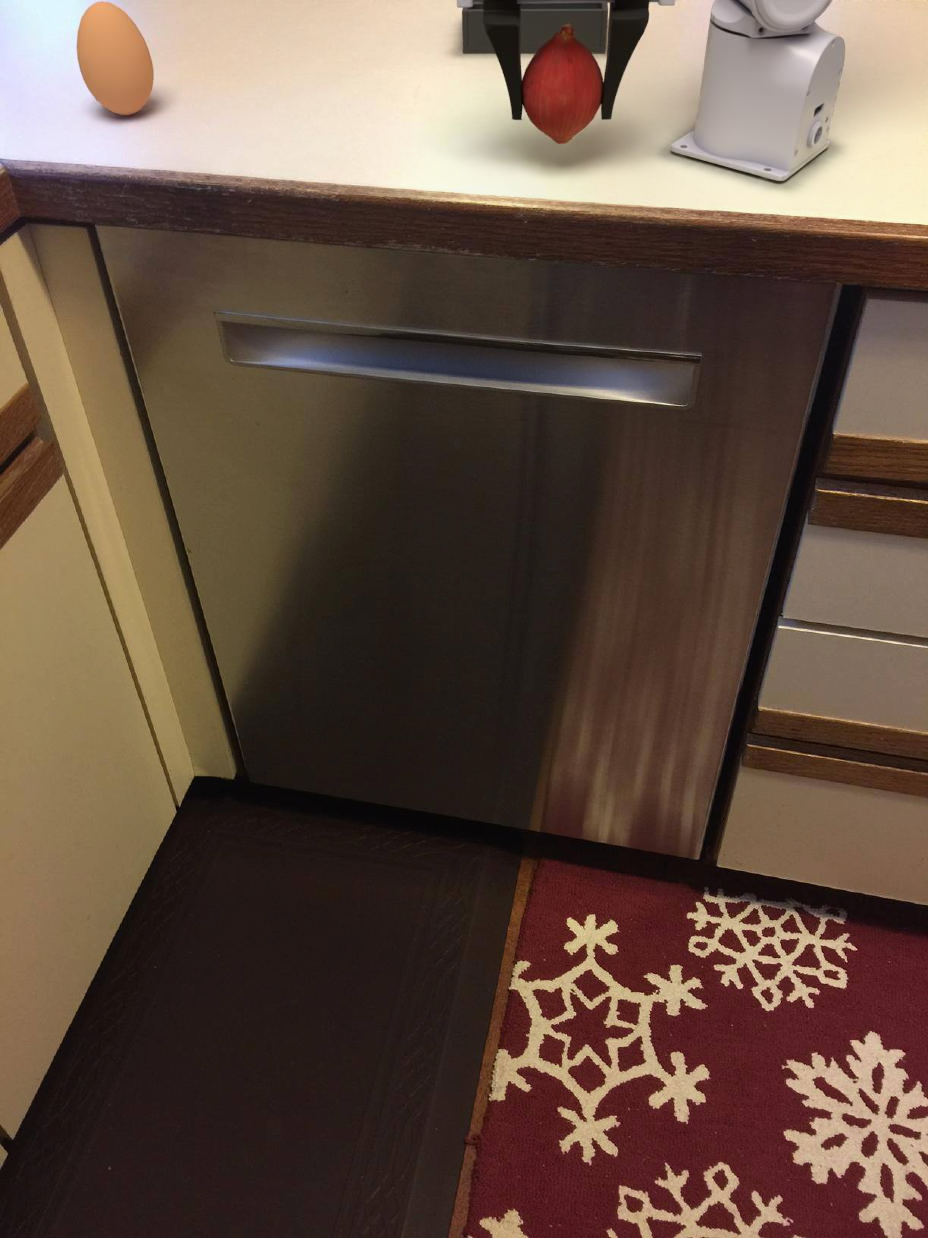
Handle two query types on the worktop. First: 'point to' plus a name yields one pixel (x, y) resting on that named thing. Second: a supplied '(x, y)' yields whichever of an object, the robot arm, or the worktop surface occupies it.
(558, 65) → the onion
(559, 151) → the worktop surface
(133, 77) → the egg
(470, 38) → the bin
